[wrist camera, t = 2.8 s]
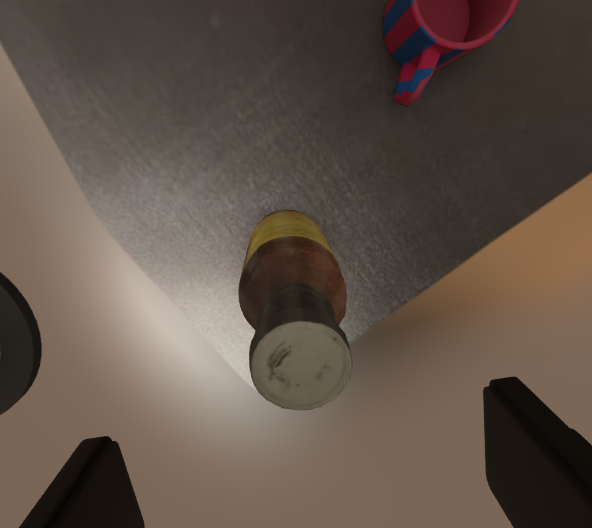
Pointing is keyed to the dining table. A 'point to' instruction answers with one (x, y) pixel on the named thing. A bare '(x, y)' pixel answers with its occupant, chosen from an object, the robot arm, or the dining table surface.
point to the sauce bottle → (294, 313)
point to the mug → (437, 36)
